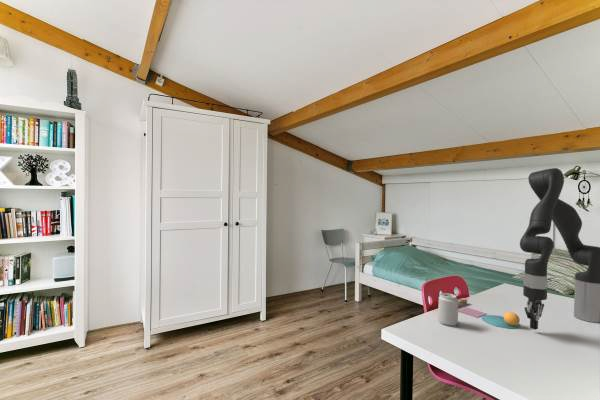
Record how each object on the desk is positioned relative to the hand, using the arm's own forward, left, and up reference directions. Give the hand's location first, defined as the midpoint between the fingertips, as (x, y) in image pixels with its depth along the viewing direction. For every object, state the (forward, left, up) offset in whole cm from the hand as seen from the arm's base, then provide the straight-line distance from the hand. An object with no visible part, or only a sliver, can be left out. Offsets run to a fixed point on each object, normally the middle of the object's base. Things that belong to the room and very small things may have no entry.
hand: (533, 328), depth 120 cm
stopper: (0, -32, -2) cm, 33 cm away
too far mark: (0, -24, -2) cm, 24 cm away
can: (+22, -23, -2) cm, 32 cm away
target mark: (0, -12, -2) cm, 12 cm away
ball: (0, -8, +1) cm, 8 cm away
